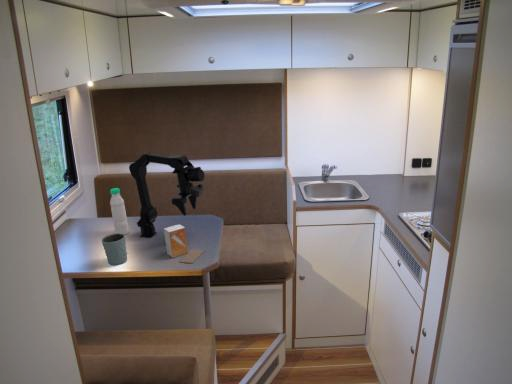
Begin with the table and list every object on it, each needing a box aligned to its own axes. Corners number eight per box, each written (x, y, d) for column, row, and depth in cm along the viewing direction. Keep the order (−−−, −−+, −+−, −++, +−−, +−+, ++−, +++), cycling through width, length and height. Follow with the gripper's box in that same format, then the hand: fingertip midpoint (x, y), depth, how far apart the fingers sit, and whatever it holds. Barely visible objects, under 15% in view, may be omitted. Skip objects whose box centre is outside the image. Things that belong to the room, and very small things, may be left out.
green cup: (132, 257, 204) (128, 233, 200) (121, 267, 194) (117, 242, 191) (113, 256, 206) (109, 232, 203) (101, 266, 197) (96, 242, 193)
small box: (172, 258, 200) (168, 232, 196) (166, 253, 205) (163, 228, 201) (188, 253, 204) (185, 227, 200) (182, 248, 209) (179, 223, 205)
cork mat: (179, 262, 195) (179, 261, 195) (191, 250, 206) (191, 249, 206) (192, 263, 193) (192, 262, 193) (204, 251, 204) (204, 250, 204)
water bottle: (119, 237, 228) (111, 191, 221) (113, 233, 233) (105, 189, 226) (131, 233, 233) (124, 188, 225) (125, 229, 238) (118, 186, 230)
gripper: (188, 187, 198) (194, 219, 202) (207, 175, 214) (212, 205, 219) (168, 187, 202) (174, 219, 206) (188, 176, 219) (193, 205, 223)
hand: (189, 212), depth 213 cm, fingers open, 9 cm apart
